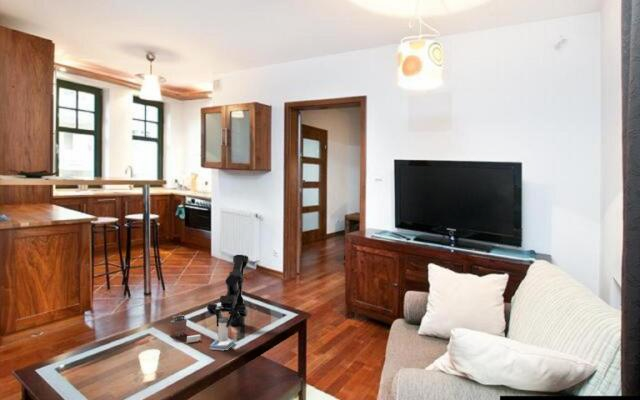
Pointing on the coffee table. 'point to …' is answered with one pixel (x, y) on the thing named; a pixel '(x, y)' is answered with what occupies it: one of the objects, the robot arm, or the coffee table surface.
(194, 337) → the duct rail
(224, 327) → the white cylinder
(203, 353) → the coffee table surface
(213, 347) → the blue bay
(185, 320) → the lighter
